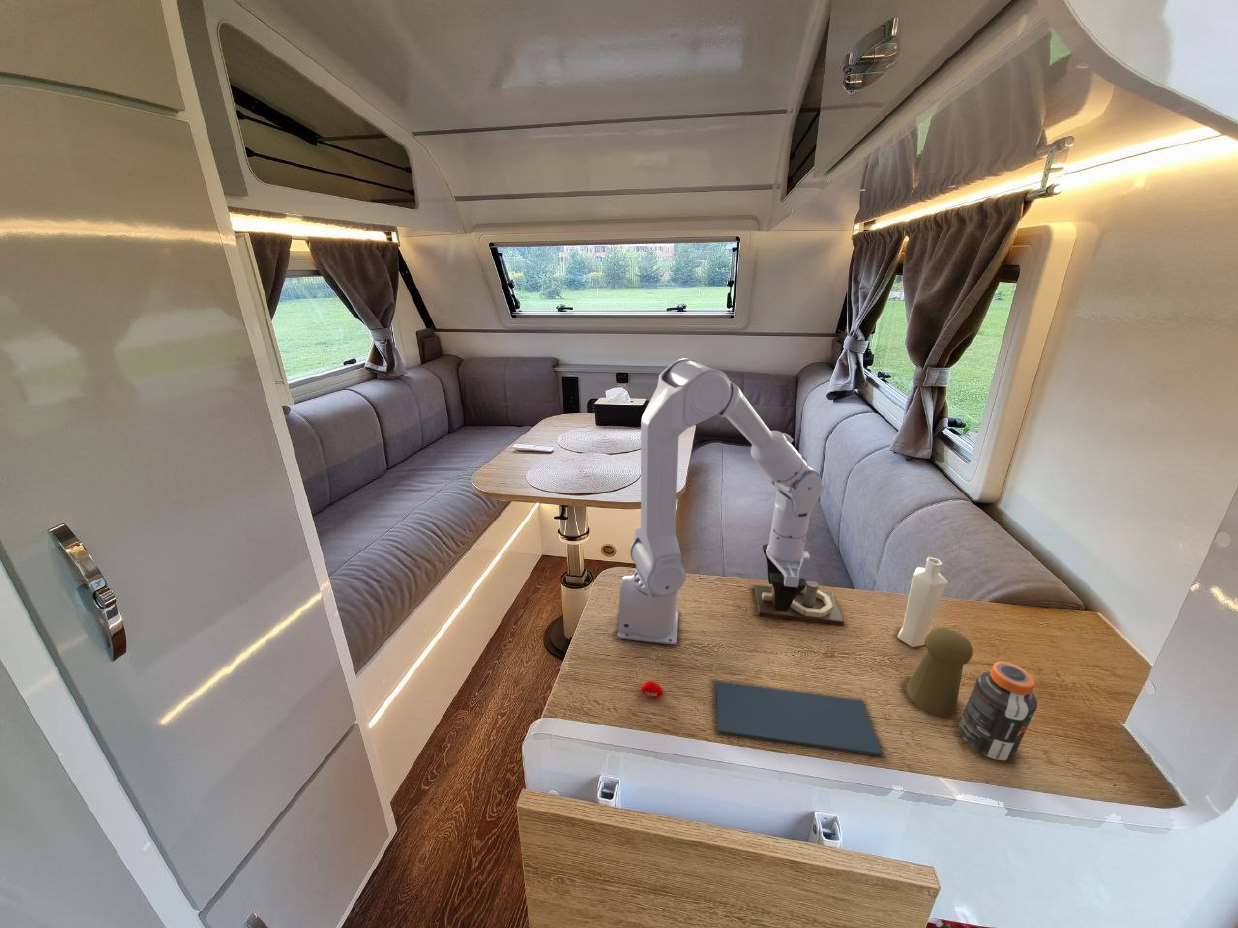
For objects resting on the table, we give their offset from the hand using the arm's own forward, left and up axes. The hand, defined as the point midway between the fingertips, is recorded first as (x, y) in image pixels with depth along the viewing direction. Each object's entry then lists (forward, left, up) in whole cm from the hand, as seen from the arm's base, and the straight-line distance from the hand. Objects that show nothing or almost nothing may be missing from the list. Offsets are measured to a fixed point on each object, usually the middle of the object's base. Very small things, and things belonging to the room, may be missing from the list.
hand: (777, 596), depth 85 cm
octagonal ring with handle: (+3, 0, -1) cm, 3 cm away
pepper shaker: (+18, -18, -2) cm, 26 cm away
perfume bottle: (+20, -6, -2) cm, 21 cm away
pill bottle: (+22, -24, -2) cm, 33 cm away
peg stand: (+3, 0, -2) cm, 4 cm away
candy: (-21, -24, -2) cm, 31 cm away
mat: (-2, -24, -2) cm, 24 cm away
